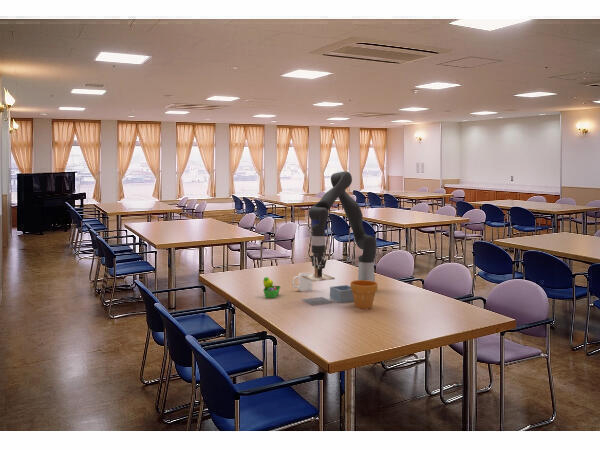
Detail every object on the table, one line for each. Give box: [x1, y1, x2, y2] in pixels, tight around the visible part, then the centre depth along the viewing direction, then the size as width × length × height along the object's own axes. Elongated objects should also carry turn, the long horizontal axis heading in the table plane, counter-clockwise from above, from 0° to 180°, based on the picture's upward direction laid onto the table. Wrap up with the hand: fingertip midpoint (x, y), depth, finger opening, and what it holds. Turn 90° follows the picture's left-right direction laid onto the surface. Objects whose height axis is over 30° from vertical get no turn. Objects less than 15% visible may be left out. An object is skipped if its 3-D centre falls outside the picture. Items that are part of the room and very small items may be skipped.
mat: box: [300, 296, 336, 307], centre depth 291 cm, size 14×14×1 cm
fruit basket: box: [262, 276, 281, 299], centre depth 301 cm, size 11×9×11 cm
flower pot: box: [350, 279, 378, 310], centre depth 281 cm, size 14×14×13 cm
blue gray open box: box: [329, 284, 354, 304], centre depth 295 cm, size 11×11×7 cm
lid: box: [302, 267, 336, 283], centre depth 289 cm, size 13×13×6 cm
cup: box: [292, 272, 313, 293], centre depth 316 cm, size 8×12×10 cm
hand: (318, 275), depth 289 cm, fingers closed on lid, 3 cm apart
